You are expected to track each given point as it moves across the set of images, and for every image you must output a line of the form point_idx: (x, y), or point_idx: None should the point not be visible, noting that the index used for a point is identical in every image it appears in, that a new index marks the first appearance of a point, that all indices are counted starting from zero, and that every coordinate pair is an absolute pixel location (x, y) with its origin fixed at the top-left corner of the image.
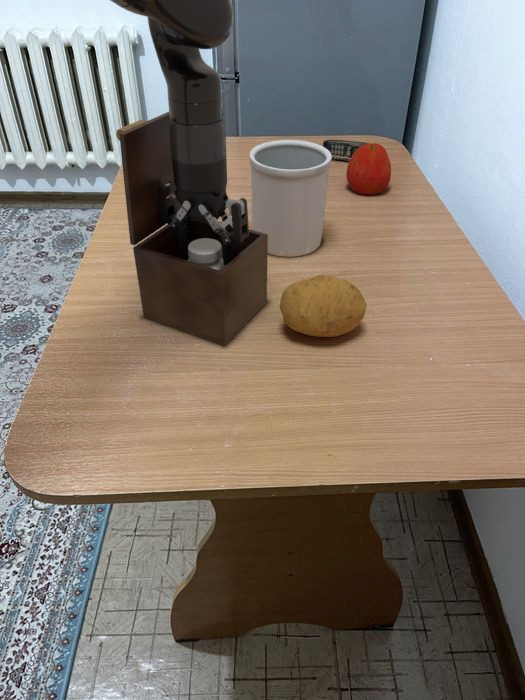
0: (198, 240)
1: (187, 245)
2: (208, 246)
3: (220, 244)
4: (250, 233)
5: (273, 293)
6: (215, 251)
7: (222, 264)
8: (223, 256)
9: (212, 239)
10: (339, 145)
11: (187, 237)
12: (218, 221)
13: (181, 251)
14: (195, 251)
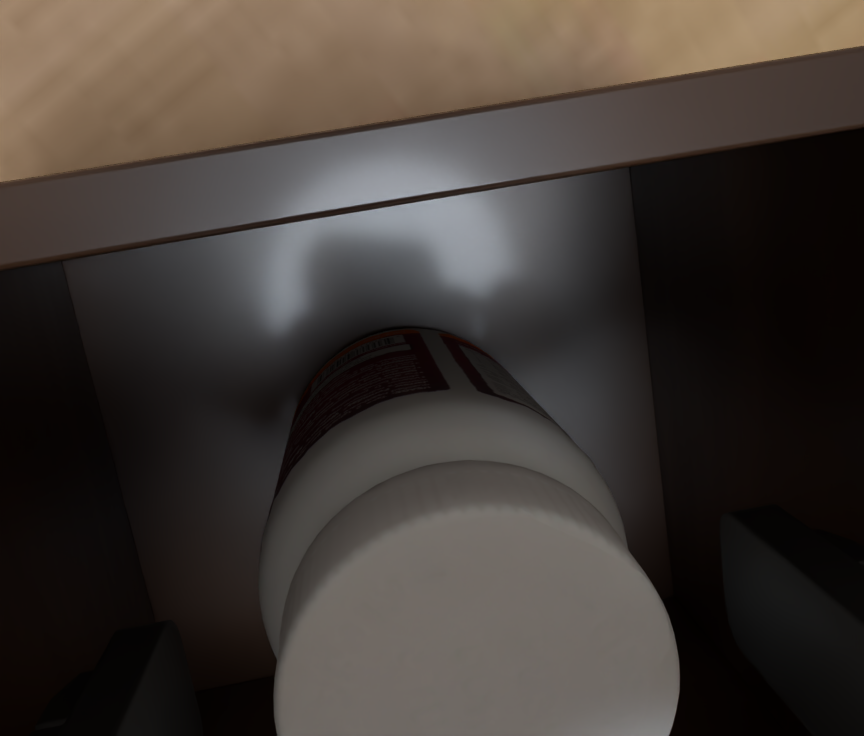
0: (325, 663)
1: (168, 636)
2: (527, 682)
3: (614, 557)
4: (834, 129)
5: (617, 2)
6: (671, 710)
7: (615, 526)
8: (786, 698)
9: (448, 531)
10: None
11: (144, 688)
12: (206, 153)
13: (199, 733)
14: None
